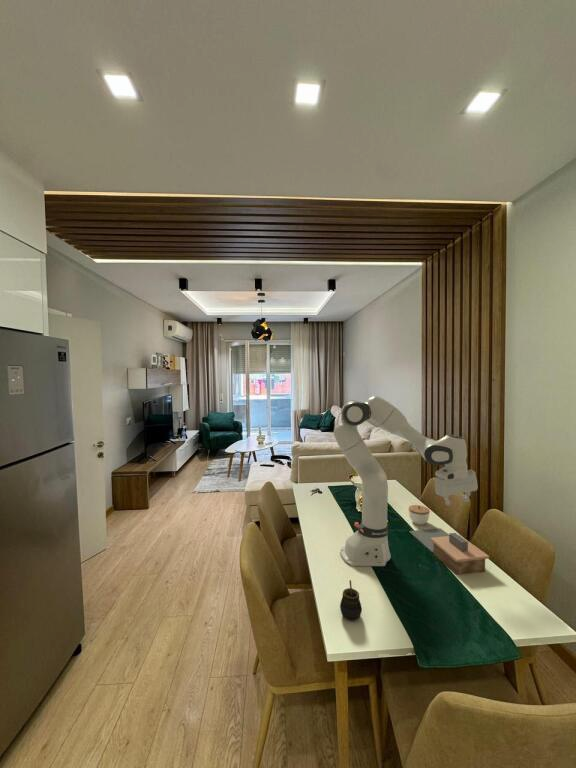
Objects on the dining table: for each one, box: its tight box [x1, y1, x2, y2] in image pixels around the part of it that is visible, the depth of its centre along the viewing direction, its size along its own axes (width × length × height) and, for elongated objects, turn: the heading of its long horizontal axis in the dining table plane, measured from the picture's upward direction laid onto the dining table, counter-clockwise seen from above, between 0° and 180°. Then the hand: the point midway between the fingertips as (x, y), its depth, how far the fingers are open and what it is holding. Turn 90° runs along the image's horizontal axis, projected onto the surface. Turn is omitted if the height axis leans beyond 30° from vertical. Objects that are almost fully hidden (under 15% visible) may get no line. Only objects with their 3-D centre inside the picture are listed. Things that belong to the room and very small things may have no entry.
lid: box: [430, 532, 490, 562], centre depth 143 cm, size 15×18×5 cm
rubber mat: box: [409, 527, 449, 553], centre depth 163 cm, size 18×20×1 cm
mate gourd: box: [339, 579, 363, 621], centre depth 112 cm, size 7×8×10 cm
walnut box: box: [432, 543, 486, 576], centre depth 144 cm, size 13×16×6 cm
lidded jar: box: [408, 504, 431, 526], centre depth 182 cm, size 11×11×9 cm
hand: (457, 502), depth 144 cm, fingers open, 8 cm apart
